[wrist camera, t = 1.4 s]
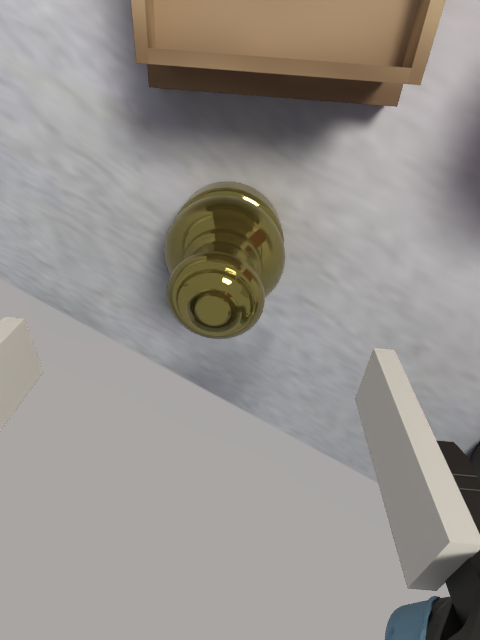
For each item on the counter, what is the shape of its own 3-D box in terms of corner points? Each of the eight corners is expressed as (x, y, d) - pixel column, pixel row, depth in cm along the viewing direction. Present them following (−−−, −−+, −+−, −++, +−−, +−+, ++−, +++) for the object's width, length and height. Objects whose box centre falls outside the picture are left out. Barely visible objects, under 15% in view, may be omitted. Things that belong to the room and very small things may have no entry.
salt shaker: (225, 297, 28) (208, 389, 20) (156, 225, 25) (103, 300, 17) (303, 242, 25) (321, 324, 17) (235, 154, 22) (217, 202, 14)
